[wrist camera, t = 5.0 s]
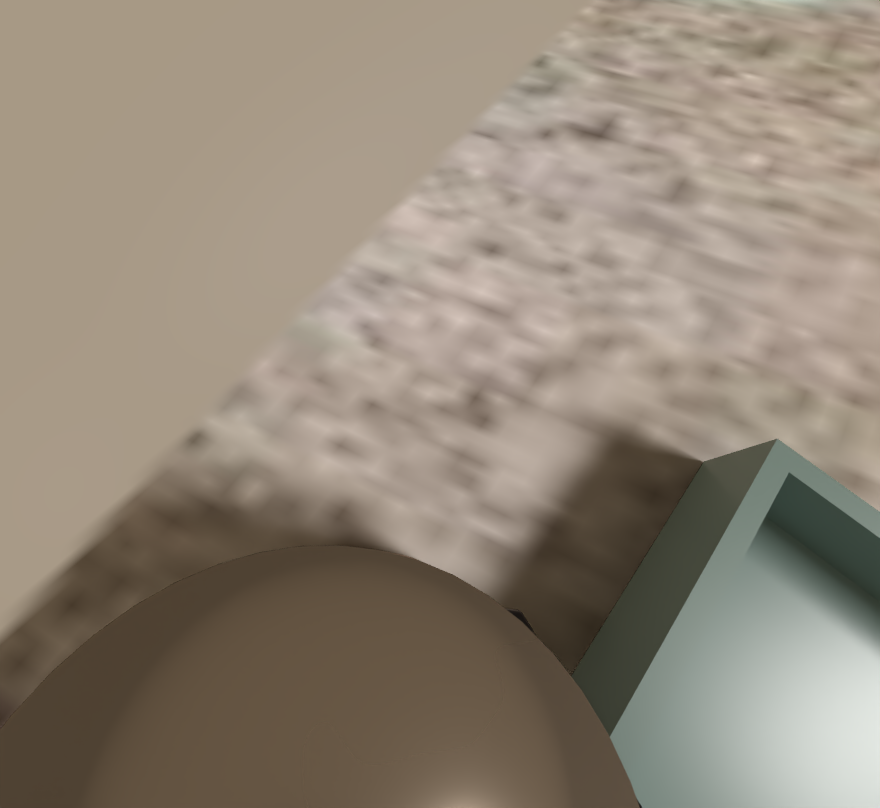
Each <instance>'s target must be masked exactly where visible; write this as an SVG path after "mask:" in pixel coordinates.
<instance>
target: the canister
mask: <svg viewBox="0 0 880 808" xmlns="http://www.w3.org/2000/svg"><path fill="white" fill-rule="evenodd" d="M0 808H640V807H639V804H638V801H637V798H636V796H635V793H634V790H633V787H632V784H631V781H630V779H629V777H628V775H627V773H626V771H625V769H624V767H623V764H622V762H621V760H620V758H619V756H618V754H617V752H616V749H615V747H614V745H613V743H612V741H611V739H610V737H609V735H608V733H607V731H606V729H605V728H604V726H603V724H602V723H601V721H600V719H599V718H598V716H597V715H596V713H595V711H594V710H593V708H592V706H591V705H590V703H589V701H588V700H587V698H586V696H585V695H584V693H583V691H582V690H581V689H580V687H579V686H578V685H577V684H576V682H575V681H574V680H573V678H572V677H571V676H570V674H569V673H568V672H567V671H566V669H565V668H564V667H563V665H562V664H561V663H560V662H559V660H558V659H557V658H556V656H555V655H554V654H553V653H552V652H551V651H550V650H549V649H548V648H547V647H546V646H545V645H544V644H543V643H542V642H541V641H540V640H539V639H538V638H537V637H536V636H535V635H534V633H533V632H532V631H531V630H530V629H529V628H528V627H527V626H526V625H525V624H524V623H523V622H522V621H520V620H519V619H518V618H516V617H515V616H514V615H513V614H511V613H510V612H509V611H508V610H506V609H505V608H504V607H502V606H501V605H500V604H499V603H497V602H496V601H495V600H494V599H492V598H491V597H490V596H488V595H486V594H485V593H483V592H481V591H480V590H478V589H476V588H475V587H473V586H471V585H470V584H468V583H466V582H464V581H463V580H461V579H459V578H458V577H456V576H454V575H452V574H450V573H447V572H445V571H443V570H440V569H438V568H435V567H433V566H431V565H428V564H426V563H424V562H421V561H419V560H416V559H414V558H412V557H408V556H404V555H400V554H395V553H391V552H386V551H382V550H375V549H367V548H358V547H350V546H341V545H336V546H298V547H292V548H285V549H279V550H272V551H266V552H259V553H256V554H253V555H249V556H246V557H242V558H239V559H235V560H232V561H228V562H225V563H221V564H218V565H216V566H213V567H211V568H208V569H206V570H204V571H201V572H199V573H197V574H194V575H192V576H189V577H187V578H185V579H182V580H180V581H178V582H176V583H174V584H172V585H170V586H169V587H167V588H165V589H163V590H161V591H160V592H158V593H156V594H154V595H153V596H151V597H149V598H147V599H146V600H144V601H142V602H140V603H138V604H137V605H135V606H133V607H132V608H131V609H129V610H128V611H126V612H125V613H124V614H122V615H121V616H120V617H118V618H117V619H115V620H114V621H113V622H111V623H110V624H108V625H107V626H106V627H104V628H103V629H101V630H100V631H99V632H97V633H96V634H94V635H93V636H92V637H91V638H90V639H88V640H87V641H86V642H85V643H84V644H83V645H82V646H81V647H79V648H78V649H77V650H76V651H75V652H74V653H73V654H72V655H70V656H69V657H68V658H67V659H66V660H65V661H64V662H62V663H61V664H60V665H59V666H58V667H57V668H56V669H55V670H53V671H52V672H51V673H50V674H49V675H48V677H47V678H46V679H45V680H44V681H43V682H42V683H41V684H40V685H39V686H38V687H37V688H36V689H35V690H34V692H33V693H32V694H31V695H30V696H29V697H28V698H27V699H26V700H25V701H24V702H23V703H22V704H21V706H20V707H19V708H18V709H17V710H16V711H15V712H14V713H13V714H12V715H11V716H10V718H9V719H8V720H7V722H6V723H5V724H4V726H3V727H2V728H1V729H0Z"/></svg>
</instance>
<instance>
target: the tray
mask: <svg viewBox="0 0 880 808" xmlns="http://www.w3.org/2000/svg"><path fill="white" fill-rule="evenodd" d="M571 677H572V678H573V680H574V681H575V682H576V684H577V685H578V686H579V687H580V689H581V690H582V691H583V693H584V695H585V696H586V698H587V700H588V701H589V703H590V705H591V706H592V708H593V710H594V711H595V713H596V715H597V716H598V718H599V719H600V721H601V723H602V724H603V726H604V728H605V729H606V731H607V733H608V735H609V737H610V739H611V741H612V743H613V745H614V747H615V749H616V752H617V754H618V756H619V758H620V760H621V762H622V764H623V767H624V769H625V771H626V773H627V775H628V777H629V779H630V781H631V784H632V787H633V790H634V793H635V796H636V798H637V800H638V801H639V803H640V804H641V806H642V808H880V512H879V511H878V510H876V509H875V508H873V507H872V506H871V505H869V504H868V503H866V502H865V501H864V500H862V499H861V498H859V497H858V496H857V495H855V494H854V493H852V492H851V491H850V490H848V489H847V488H845V487H844V486H843V485H841V484H840V483H838V482H837V481H836V480H834V479H833V478H831V477H830V476H829V475H827V474H826V473H824V472H823V471H822V470H820V469H819V468H817V467H816V466H815V465H813V464H812V463H810V462H809V461H808V460H806V459H805V458H803V457H802V456H801V455H799V454H798V453H796V452H795V451H794V450H792V449H791V448H789V447H788V446H787V445H785V444H784V443H782V442H781V441H780V440H778V439H775V440H772V441H769V442H765V443H762V444H759V445H756V446H753V447H749V448H746V449H743V450H740V451H736V452H733V453H730V454H727V455H724V456H720V457H717V458H714V459H711V460H708V461H704V462H703V464H702V465H701V467H700V469H699V470H698V472H697V474H696V475H695V477H694V478H693V480H692V482H691V483H690V485H689V487H688V488H687V490H686V491H685V493H684V495H683V496H682V498H681V499H680V501H679V503H678V504H677V506H676V508H675V509H674V511H673V512H672V514H671V516H670V517H669V519H668V520H667V522H666V524H665V525H664V527H663V529H662V530H661V532H660V533H659V535H658V537H657V538H656V540H655V542H654V543H653V545H652V546H651V548H650V550H649V551H648V553H647V554H646V556H645V558H644V559H643V561H642V563H641V564H640V566H639V567H638V569H637V571H636V572H635V574H634V576H633V577H632V579H631V580H630V582H629V584H628V585H627V587H626V588H625V590H624V592H623V593H622V595H621V597H620V598H619V600H618V601H617V603H616V605H615V606H614V608H613V610H612V611H611V613H610V614H609V616H608V618H607V619H606V621H605V622H604V624H603V626H602V627H601V629H600V631H599V632H598V634H597V635H596V637H595V639H594V640H593V642H592V644H591V645H590V647H589V648H588V650H587V652H586V653H585V655H584V656H583V658H582V660H581V661H580V663H579V665H578V666H577V668H576V669H575V671H574V673H573V674H572V676H571Z"/></svg>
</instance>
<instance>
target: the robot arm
mask: <svg viewBox="0 0 880 808" xmlns="http://www.w3.org/2000/svg"><path fill="white" fill-rule="evenodd" d="M505 609H506V608H505ZM506 610H508V611H509V612H510V613H511V614H513V615H514V616H515V617H516V618H518V619H519V620H520V621H522V622H523V623H524V624H525V625H526V626H527V627H528V628H529V629H530V630H531V631H532V632H533V633H534V631H533V630H532V628H531V626H530V625H529V623H528V621H527V620H526V618H525V617H524V615H523V613H522V612H521V611H519V610H515V609H506ZM534 635H535V636H536V634H535V633H534ZM536 637H537V636H536ZM637 801H638V800H637ZM638 804H639V807H640V808H642V806H641V804H640V803H639V801H638Z"/></svg>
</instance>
